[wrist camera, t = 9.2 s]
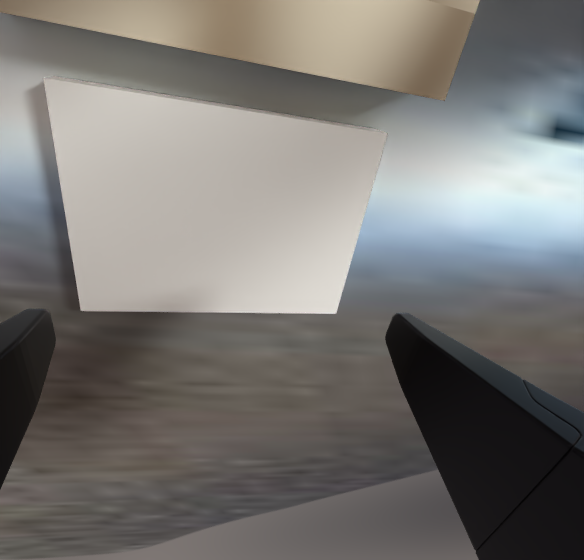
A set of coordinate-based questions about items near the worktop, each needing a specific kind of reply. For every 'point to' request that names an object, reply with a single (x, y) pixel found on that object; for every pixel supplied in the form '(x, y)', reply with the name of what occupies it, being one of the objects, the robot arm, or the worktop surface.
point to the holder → (292, 34)
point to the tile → (206, 201)
